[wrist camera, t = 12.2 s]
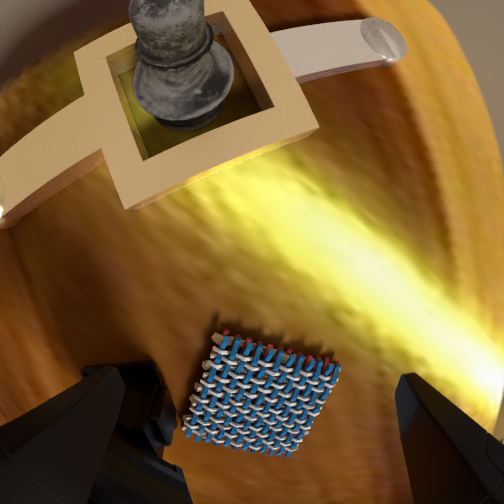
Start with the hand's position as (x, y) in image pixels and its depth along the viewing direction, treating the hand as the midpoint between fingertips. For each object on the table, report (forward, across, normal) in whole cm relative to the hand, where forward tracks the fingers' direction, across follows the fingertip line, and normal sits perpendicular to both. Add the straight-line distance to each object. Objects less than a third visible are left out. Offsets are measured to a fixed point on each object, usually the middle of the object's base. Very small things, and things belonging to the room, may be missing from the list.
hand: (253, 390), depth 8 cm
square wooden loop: (+12, +11, -9) cm, 18 cm away
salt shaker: (+14, +5, -10) cm, 18 cm away
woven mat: (+10, +1, +12) cm, 16 cm away
